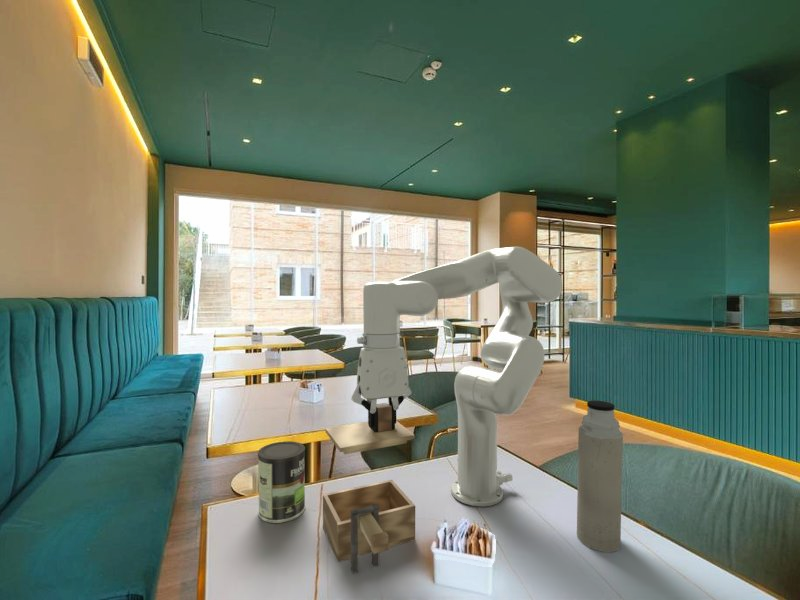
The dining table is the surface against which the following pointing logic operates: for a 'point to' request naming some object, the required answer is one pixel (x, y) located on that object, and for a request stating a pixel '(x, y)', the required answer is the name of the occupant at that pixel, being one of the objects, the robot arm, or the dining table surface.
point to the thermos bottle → (599, 478)
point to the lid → (369, 433)
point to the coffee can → (281, 481)
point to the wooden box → (376, 499)
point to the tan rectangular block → (373, 533)
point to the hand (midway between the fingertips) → (382, 428)
